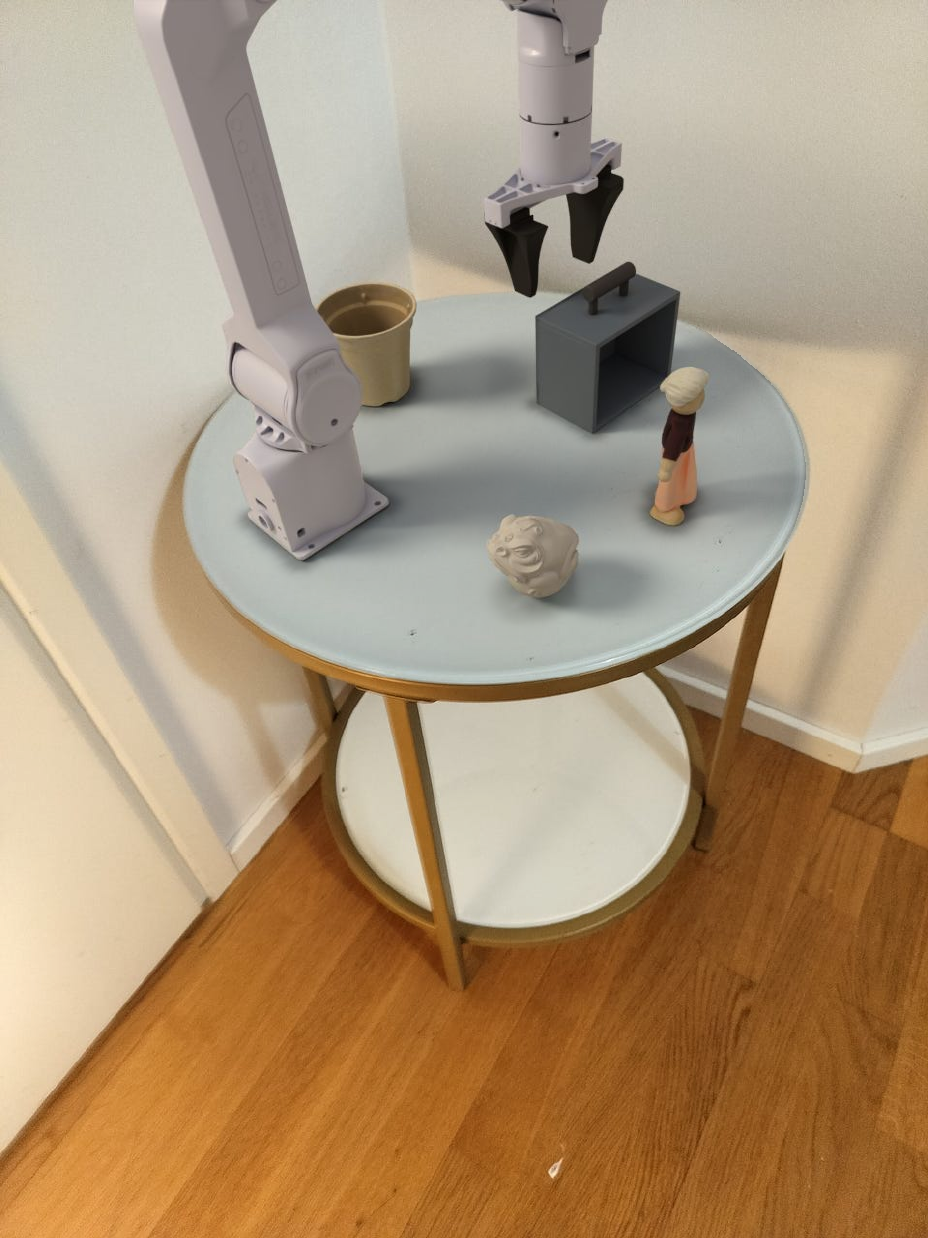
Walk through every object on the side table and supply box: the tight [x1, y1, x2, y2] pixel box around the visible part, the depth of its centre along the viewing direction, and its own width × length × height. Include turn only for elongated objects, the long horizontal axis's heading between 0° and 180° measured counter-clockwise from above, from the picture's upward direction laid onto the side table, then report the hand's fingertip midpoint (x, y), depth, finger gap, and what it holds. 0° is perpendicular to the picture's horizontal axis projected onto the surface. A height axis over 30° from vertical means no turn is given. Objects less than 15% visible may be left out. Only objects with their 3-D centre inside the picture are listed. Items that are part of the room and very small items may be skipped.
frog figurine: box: [486, 513, 580, 599], centre depth 64 cm, size 6×7×7 cm
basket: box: [534, 261, 681, 434], centre depth 77 cm, size 11×12×7 cm
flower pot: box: [314, 281, 418, 407], centre depth 82 cm, size 9×9×9 cm
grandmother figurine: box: [649, 366, 709, 527], centre depth 66 cm, size 8×4×13 cm, turn 171°
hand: (554, 275), depth 78 cm, fingers open, 7 cm apart
